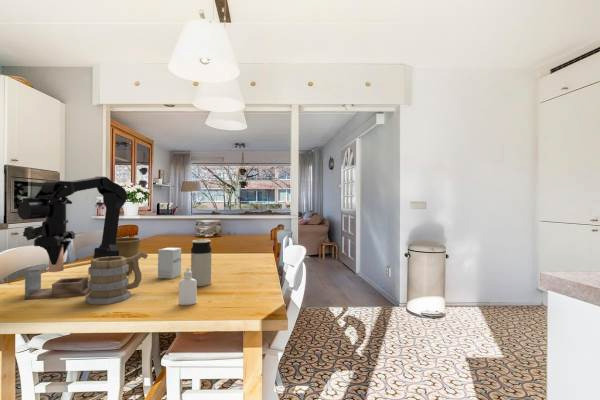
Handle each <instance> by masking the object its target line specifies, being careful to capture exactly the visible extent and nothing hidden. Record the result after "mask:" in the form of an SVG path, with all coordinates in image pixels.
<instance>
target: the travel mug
mask: <svg viewBox="0 0 600 400" xmlns="http://www.w3.org/2000/svg"><path fill="white" fill-rule="evenodd" d="M191 243H192V247H191V248H190V250H191V251H190V252H191V253H190V271H191V272H192V278H193V279H195V280H196V281H197V286H201V287H207V286H209V285H211V284H212V246H211V239H194V240H191Z"/></svg>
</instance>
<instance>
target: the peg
mask: <svg viewBox="0 0 600 400" xmlns="http://www.w3.org/2000/svg"><path fill="white" fill-rule="evenodd" d="M48 264H49V267H48V272H49V273H59V272H63V271H64V256H63V248H62V250H61V253H60V255H59V258H58V261H57V263H56V265H52V264H51V261H50V258H49V257H48Z"/></svg>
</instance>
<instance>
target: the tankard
mask: <svg viewBox="0 0 600 400" xmlns="http://www.w3.org/2000/svg"><path fill="white" fill-rule="evenodd" d="M148 257H149V255H148V254H147V253H145V252H143V251H139V252H138V254H137V255H135V256H133V257H131V258H125V257H121V256H111V257H101V258H96V259H94V258H92V259H91V260H90V266H89V267H88V268H87V269H88V275H90V280H88V288H89V289H90V292H89V294H87V295H85V301H86V303H88V304H90V305H110V304H115V303H120V302H124V301H126V300H127V299H129V298H130V297H131V295H132V292H131V291H130V290H133V289H136V288H138V287H139V285H140V283H141V282H142V275H143V273H142V271H141V269H140V264H139V263H140V262H139V260H140V259H142V258H143V259H147V258H148ZM129 262H132V269H133V271H132V273H133V274H134V280H133V282H131V283H129V277H127V275H128V274H127V272H128V271H129V265H128V264H127V263H129ZM126 274H127V275H126Z"/></svg>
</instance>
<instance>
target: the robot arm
mask: <svg viewBox="0 0 600 400" xmlns="http://www.w3.org/2000/svg"><path fill="white" fill-rule="evenodd" d="M92 189H97V192H98V194H100V195H101V196H102V202H103V204H104V207H105V208H106V209H105V216H104V224H103V231H102V236H101V237H102V238H101V244H100V245H99V246H98V247H95V248H94V252H93V253H94V254H93V257H92V259H96V258H101V257H111V256H119V250H118V248H117V246H116V238H118V229H119V228H118V227H119V221H120V212H121V209H122V208H123V207H124V205H125V203H126V200H127V197H128V192H127V191H126V189H125V188H124V187H122V186H121V185H119V184H118V183H116V182H114V181H112V180H111V179H110V178H109V177H107V176H95V177H90V178H83V179H77V180H76V179H75V180H46V181H44V182H43V184H42V185H41V188H40V190H39V191H38V192H37V193H36V194H35V196H34V197H33V198H32V197H22V201H21V202H20V203H19V205H18V207H17V211H16V212H17V215H18V217H19V218H20V219H22V220H23V221H24V220H28V221H29V220H37V219H38V220H40V219H45V220H44V221H43V222H42V223H41V226H38V227H34V226H33V225H32V226H27V227H25V228H24V231H23V232H22V233H23V234H22V237H25V238H26V240H27V241H31V240H33V245H34V247H40V248H42V249H43V250H45V251H46V252H47V256H48V259H49V258H50V261H51V264H52V265H56V263H57V261H58V258H59V255H60V253H61V250H62V248H63V257H64V256H65V253H66V252H67V250H68V248H69V246H70V243H72V240H73V239H76V233H75V232H74V231H73V230H67V224H68V223H69V219H67V205H72V204H73V201H72V200H70V199H69V198H68V196H72V195H73V194H75V193H76V192H79V191H80V192H81V191H86V190H92ZM67 239H70V240H67Z"/></svg>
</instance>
